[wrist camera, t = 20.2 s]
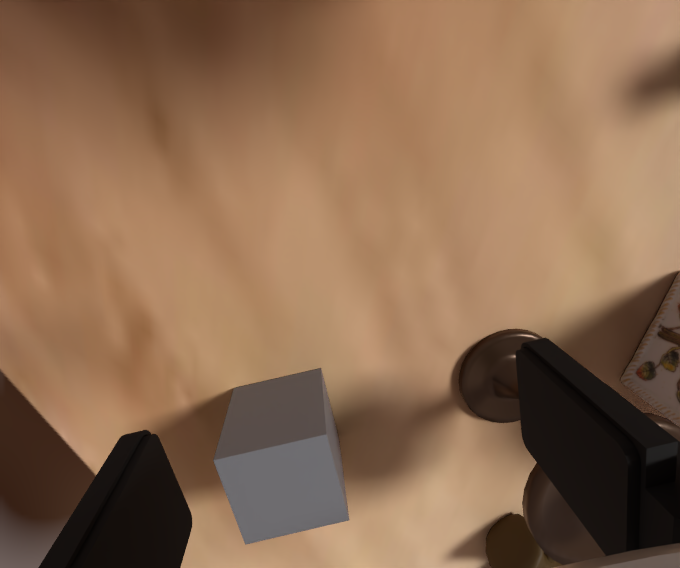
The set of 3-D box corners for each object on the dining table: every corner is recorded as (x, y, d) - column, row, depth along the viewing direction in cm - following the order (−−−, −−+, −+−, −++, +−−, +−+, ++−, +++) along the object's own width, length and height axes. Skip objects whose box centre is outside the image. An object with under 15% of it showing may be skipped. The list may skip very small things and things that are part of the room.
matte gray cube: (321, 368, 36) (326, 434, 28) (339, 439, 39) (349, 520, 30) (233, 388, 36) (213, 460, 28) (257, 458, 39) (245, 544, 30)
